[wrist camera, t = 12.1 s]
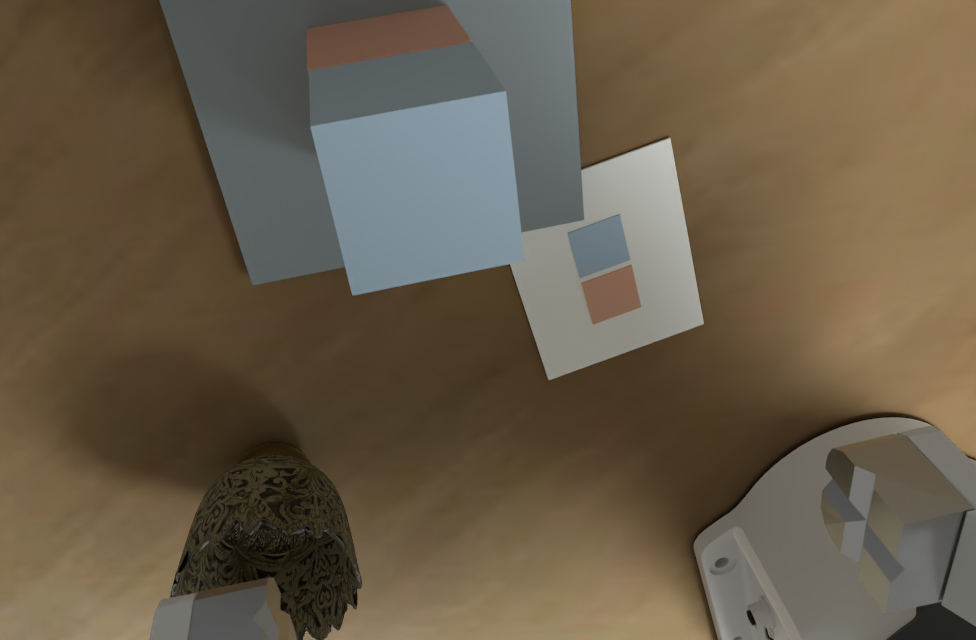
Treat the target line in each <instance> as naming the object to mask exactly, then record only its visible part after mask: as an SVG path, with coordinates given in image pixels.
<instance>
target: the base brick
mask: <svg viewBox="0 0 976 640" xmlns="http://www.w3.org/2000/svg"><path fill="white" fill-rule="evenodd" d="M306 42H307V70H308V75H309V70H315V69H321V68H327V67H332V66H338V65H344V64H349V63H355V62H361V61H367V60H372V59H378V58H384V57H389V56H395V55H401V54H407V53H412V52H418V51H424V50H429V49H435V48H441V47H447V46H452V45H458V44H464V43H469V42H471V39H470V38H469V36H468V35H467V33H466V32H465V30H464V29H463V27H462V26H461V25H460V23H459V22H458V20H457V19H456V17H455V16H454V14H453V13H452V11H451V10H450V9H449V7H448V6H447V5H443V6H437V7H431V8H425V9H419V10H413V11H407V12H401V13H396V14H390V15H384V16H378V17H372V18H366V19H360V20H355V21H349V22H343V23H337V24H331V25H325V26H319V27H314V28H308V29H306Z"/></svg>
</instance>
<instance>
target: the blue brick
mask: <svg viewBox="0 0 976 640" xmlns="http://www.w3.org/2000/svg"><path fill="white" fill-rule="evenodd" d="M309 98H310V128H311V132H312V136H313V140H314V144H315V148H316V152H317V156H318V160H319V164H320V168H321V172H322V176H323V180H324V184H325V188H326V192H327V196H328V200H329V204H330V208H331V212H332V216H333V220H334V224H335V228H336V232H337V236H338V240H339V244H340V248H341V252H342V256H343V260H344V264H345V268H346V272H347V276H348V280H349V284H350V288H351V292H352V296H353V295H358V294H363V293H368V292H373V291H378V290H383V289H388V288H393V287H398V286H403V285H408V284H413V283H418V282H423V281H428V280H433V279H438V278H443V277H448V276H453V275H458V274H463V273H468V272H473V271H478V270H483V269H488V268H493V267H498V266H503V265H508V264H512V263H517V262H522V261H525V260H524V251H523V242H522V233H521V223H520V214H519V205H518V196H517V187H516V178H515V169H514V159H513V150H512V141H511V132H510V123H509V114H508V105H507V95H506V90H505V89H504V87H503V86H502V84H501V83H500V81H499V80H498V79H497V77H496V76H495V74H494V73H493V71H492V70H491V68H490V67H489V65H488V64H487V63H486V61H485V60H484V58H483V57H482V55H481V54H480V52H479V51H478V49H477V48H476V47H475V45H474V44H473V42H469V43H464V44H458V45H452V46H447V47H441V48H435V49H429V50H424V51H418V52H412V53H407V54H401V55H395V56H389V57H384V58H378V59H372V60H367V61H361V62H355V63H349V64H344V65H338V66H332V67H327V68H321V69H315V70H309Z"/></svg>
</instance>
